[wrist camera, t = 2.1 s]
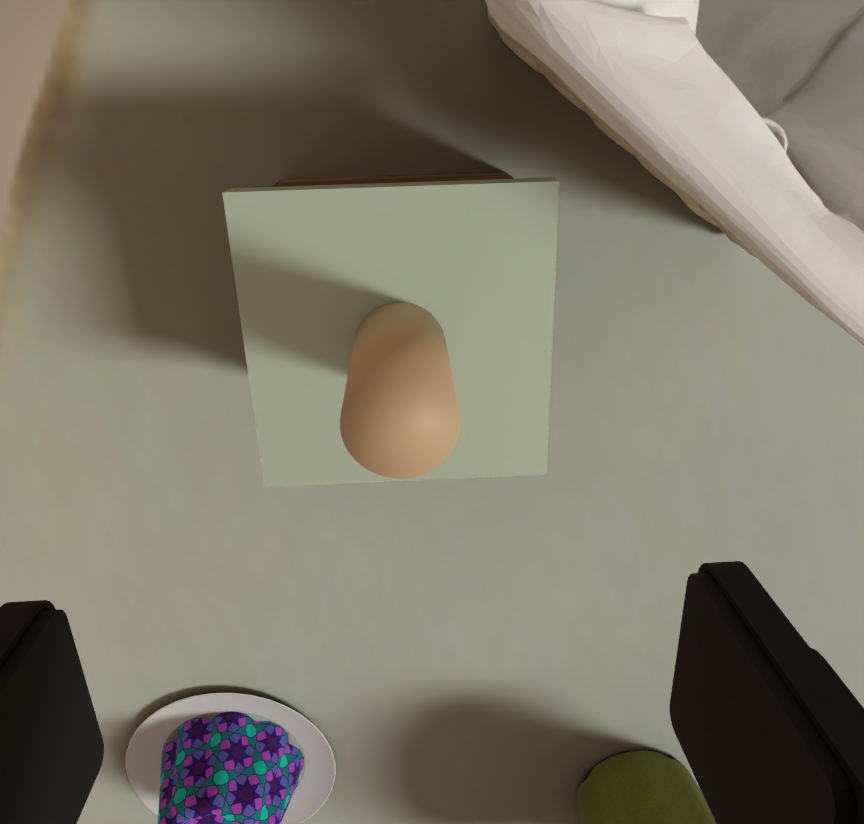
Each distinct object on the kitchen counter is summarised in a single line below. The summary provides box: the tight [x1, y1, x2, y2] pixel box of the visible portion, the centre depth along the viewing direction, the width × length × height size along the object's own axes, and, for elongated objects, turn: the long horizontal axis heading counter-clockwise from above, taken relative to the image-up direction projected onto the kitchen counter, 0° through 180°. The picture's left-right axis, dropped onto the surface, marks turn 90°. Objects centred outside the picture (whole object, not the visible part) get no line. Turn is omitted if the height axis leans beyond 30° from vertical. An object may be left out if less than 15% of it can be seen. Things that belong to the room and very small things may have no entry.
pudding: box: [125, 693, 336, 824], centre depth 39 cm, size 12×12×5 cm
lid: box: [222, 178, 560, 487], centre depth 21 cm, size 10×10×8 cm
